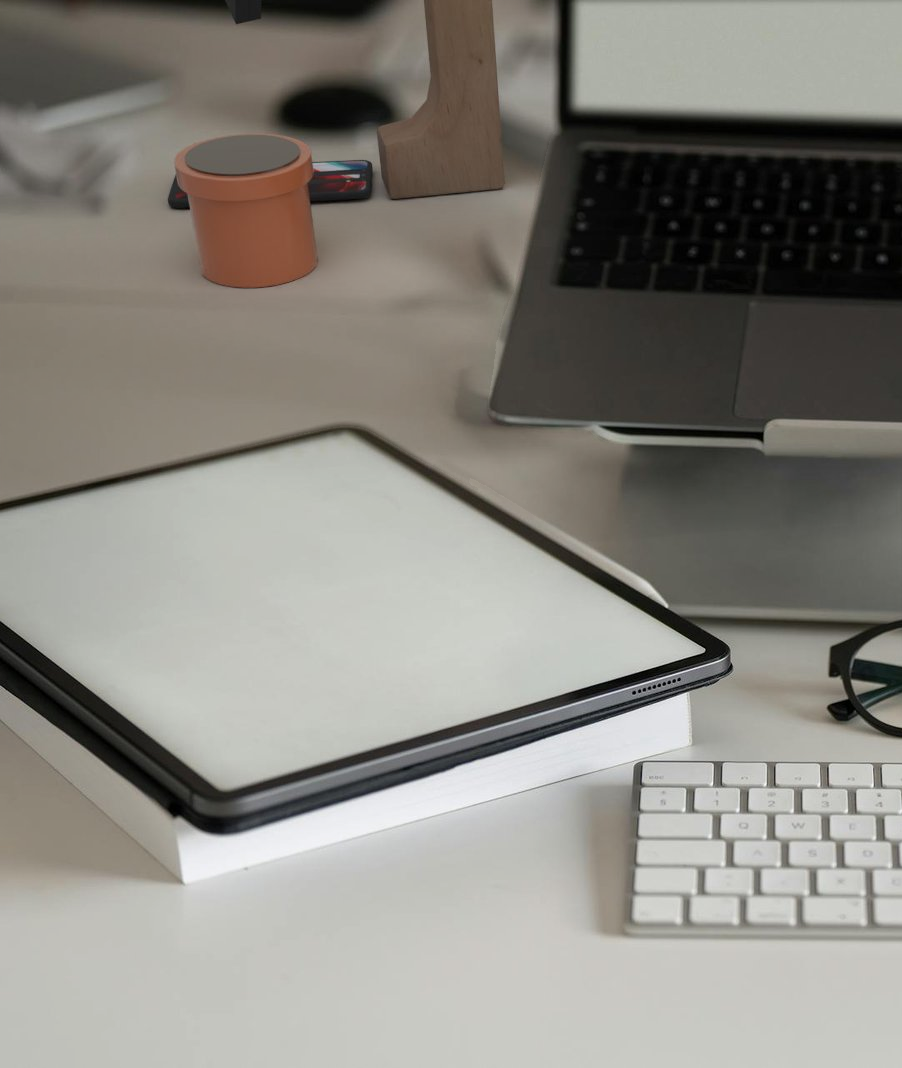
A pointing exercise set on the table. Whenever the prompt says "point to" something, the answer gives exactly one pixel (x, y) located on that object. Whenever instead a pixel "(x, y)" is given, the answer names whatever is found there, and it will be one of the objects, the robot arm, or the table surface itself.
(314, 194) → the smartphone
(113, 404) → the table surface
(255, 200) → the flower pot
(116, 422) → the table surface
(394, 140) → the wooden block
